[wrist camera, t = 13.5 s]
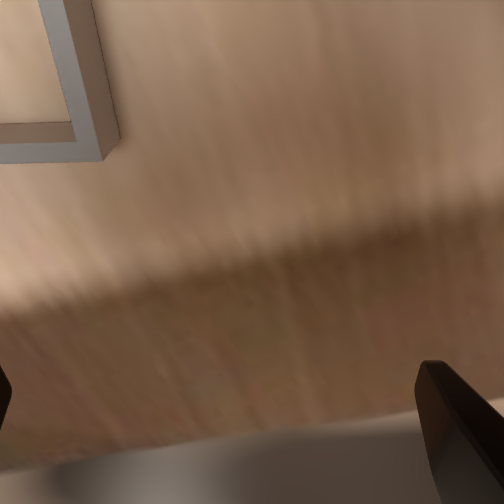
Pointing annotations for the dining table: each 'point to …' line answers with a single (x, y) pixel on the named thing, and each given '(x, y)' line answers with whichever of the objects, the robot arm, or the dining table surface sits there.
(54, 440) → the dining table surface
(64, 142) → the open square frame
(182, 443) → the dining table surface
